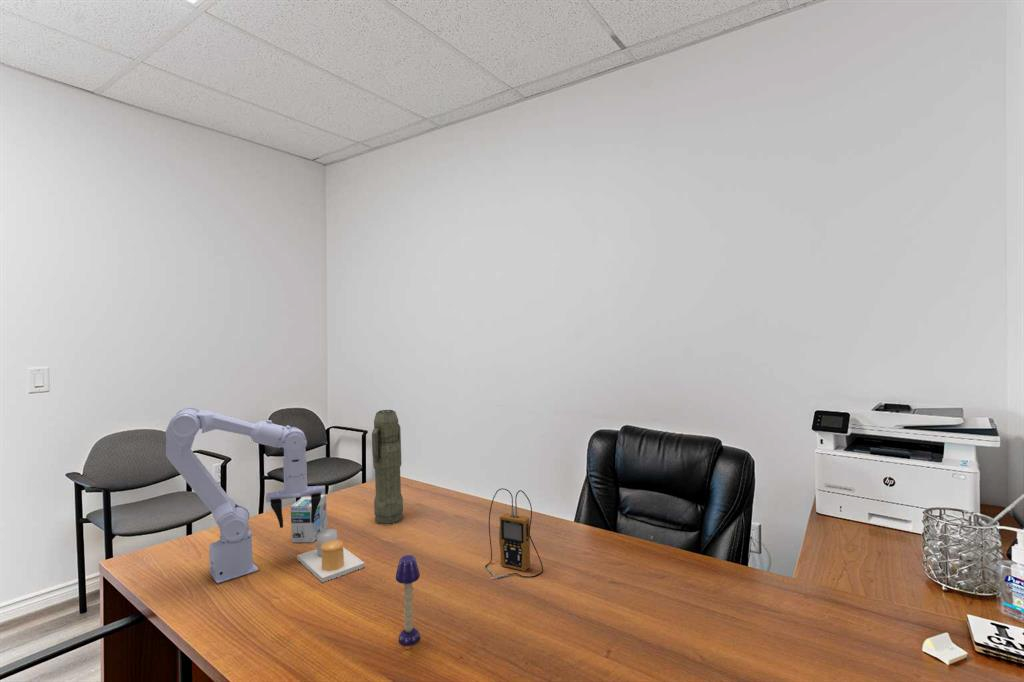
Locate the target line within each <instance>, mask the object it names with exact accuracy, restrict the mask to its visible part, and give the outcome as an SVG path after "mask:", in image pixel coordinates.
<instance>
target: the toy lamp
mask: <svg viewBox="0 0 1024 682" xmlns="http://www.w3.org/2000/svg"><path fill="white" fill-rule="evenodd" d="M395 573H396V574H395V580H396V582H397V583H399V584H403V585H404V587H403V593H404V594H403V595H404V596H403V600H404V604H403V605H404V606H403V607H404V610H403V611H404V613H403V615H404V627H403V628H404V629H402V631H400V633H399V636H398V643H399V644H400V645H402V646H404V647H405V646H414V645H415V644H417V643H418V642H419V641H420V639H421V635H420V631H419V630H418V629H417V628H415V627H414V622H413V621H414V616H413V615H414V608H413V606H414V601H413V599H414V593H413V590H414V588H413V587H414V586H413V583H415V582H417V581H418V580H419V579H420V575H421V574H420V570H419V567H418V563H417V560H416V557H415V556H414V555H411V554H407V555H403V556H402V557H400V559H399V561H398V564H397V568H396V572H395Z"/></svg>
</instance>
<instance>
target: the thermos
mask: <svg viewBox="0 0 1024 682" xmlns="http://www.w3.org/2000/svg"><path fill="white" fill-rule="evenodd" d="M401 435H402V434H401V425H400V424H399V418H398V415H397V412H396V411H395V410H393V409H383V410H381V409H380V410H378V411H377V412H376V413H375V415H374V419H373V429H372V432H371V446H372V450H371V451H372V452H371V453H372V461H373V462H372V466H373V469H374V477H375V478H374V480H375V481H374V482H375V483H374V485H375V487H374V488H375V496H374V499H373V500H374V501H373V503H374V505H373V506H374V507H373V508H374V515H375V519H374V522H375V523H376V522H377V523H379V524H378V525H380V524H391V525H394V524H393V523H395V524H397V522H398V523H400V522H401V520H402V521H403V519H404V515H403V511H404V498H403V495H402V485H401V481H402V480H401V466H402V438H401V437H402V436H401ZM399 521H400V522H399ZM377 523H376V524H377Z"/></svg>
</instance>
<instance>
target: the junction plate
mask: <svg viewBox="0 0 1024 682" xmlns="http://www.w3.org/2000/svg"><path fill="white" fill-rule="evenodd" d="M331 540H339V539H338V530H337V529H335V528H327V529H325V530H322V531H320V532H318V533H317V539H316V548H315V549H312V550H309V551H305V552H303V553H300V554H297V555H296V558H297V561H298V562H299V561H300V562H301V564H302V566H303V567H305V568H306V569H307V570H308V571H309V570H310V571H309V572H310V573H311V572H312V573H313V574H312V573H311V574H312V575H314V576H315V577H316V578H317V580H319V581H320V582H321V583H326V582H328V580H329V581H332V580H334V579H336V577H337V578H339V577H343V576H346V575H348V574H351V573H353V571H354V572H356V571H359V570H361V568H362V569H364V568H363V567H365V568H366V563H365V562H364V561H362V560H361V559H360V558H359V557H357V556H356V555H355V554H353V553H352V552H350V551H349V550H348V549H346V548H345V547H344V546H343V553H344V566H342V567H341V568H339V569H336V570H331V571H327V570H322V557H321V545H322V544H323V543H325V542H327V541H331ZM300 562H299V563H300ZM358 569H359V570H358ZM355 570H356V571H355ZM350 572H351V573H350ZM347 573H348V574H347ZM342 575H343V576H342ZM331 579H332V580H331ZM325 581H326V582H325Z"/></svg>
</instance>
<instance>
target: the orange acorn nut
mask: <svg viewBox="0 0 1024 682" xmlns="http://www.w3.org/2000/svg"><path fill="white" fill-rule="evenodd" d="M343 547H344V543H343V541H342V540H339V539H338V540H331V541H327V542H325V543H323V544H322V545H321V557H322V570H327V571H331V570H336V569H339V568H341V567H342V566H344V553H343Z"/></svg>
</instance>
